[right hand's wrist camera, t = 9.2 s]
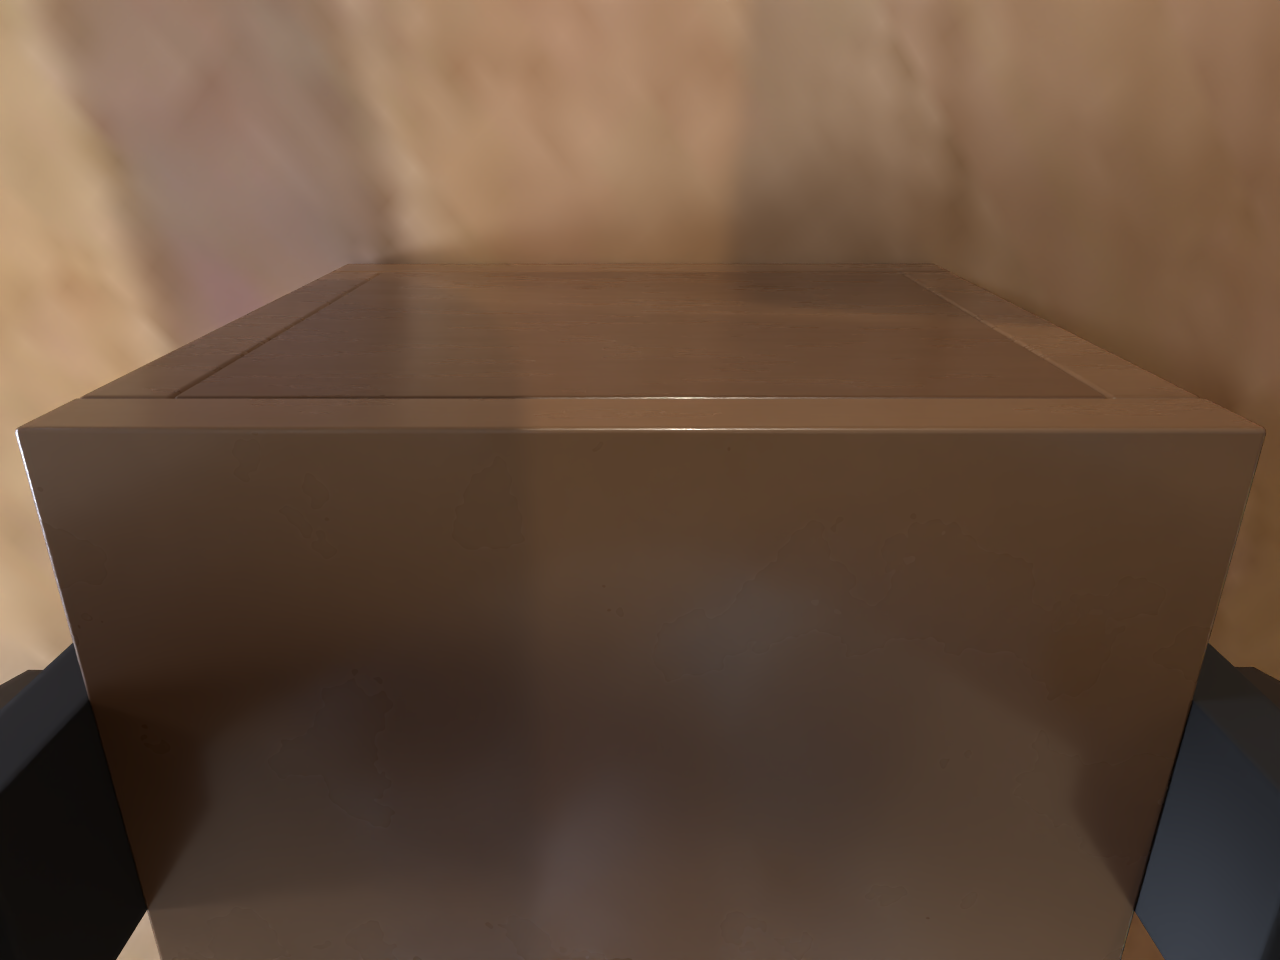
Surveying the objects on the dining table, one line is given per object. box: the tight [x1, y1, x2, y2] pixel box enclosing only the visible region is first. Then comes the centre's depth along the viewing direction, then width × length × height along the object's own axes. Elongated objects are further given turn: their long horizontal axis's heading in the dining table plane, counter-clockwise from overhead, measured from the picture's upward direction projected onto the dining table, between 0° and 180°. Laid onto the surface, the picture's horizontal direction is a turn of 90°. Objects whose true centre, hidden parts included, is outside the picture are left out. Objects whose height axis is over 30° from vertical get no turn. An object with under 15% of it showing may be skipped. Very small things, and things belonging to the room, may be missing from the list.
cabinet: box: [15, 264, 1266, 960], centre depth 16 cm, size 22×11×9 cm, turn 0°
